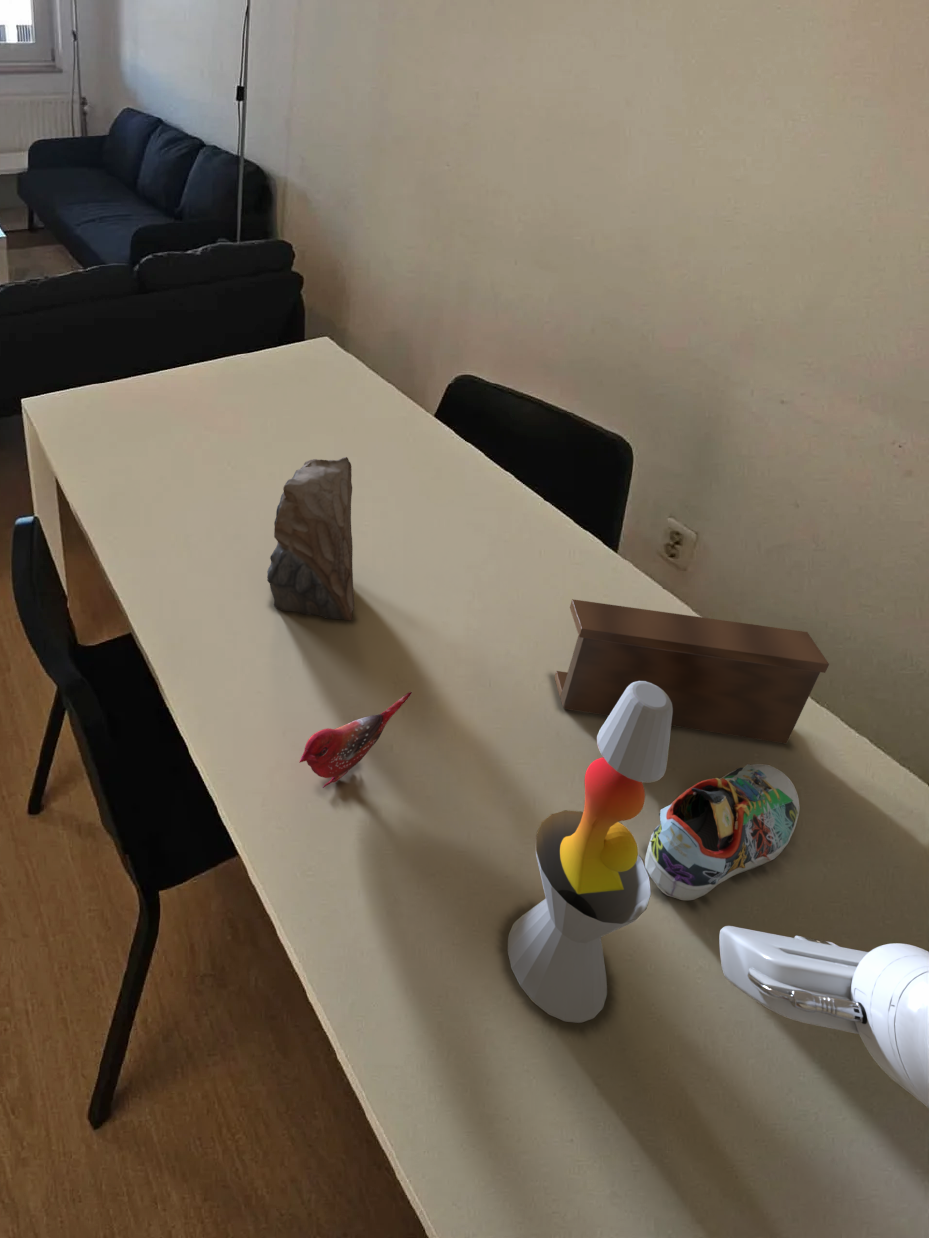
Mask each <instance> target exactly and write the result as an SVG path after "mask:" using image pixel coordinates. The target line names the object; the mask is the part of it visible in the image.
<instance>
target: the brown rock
mask: <svg viewBox="0 0 929 1238" xmlns="http://www.w3.org/2000/svg"><path fill="white" fill-rule="evenodd" d="M282 487H283V488H282V489H283V492H282V494H281V496H280V498H279V503H278V505H277V507H276V511H275V512H276V513H275V519H274V524H273V525H274V529H273V530H274V531H273V537H274V539H275V540H276V542H277V544H276V546H275V549H274V550H273V552H272V554H271V555H270V557H269V559H270V564H269V567H268V569H267V576H266V577H267V582H268V583H269V587H270V592H271V594H272V597H273V607H275V608H276V609H278V610H280V611H284V612H296V613H297V612H298V613H299V614H301V615H312V616H320V617H323V618H325V619H329V620H344V621H353V615H352V613H353V610H354V609H355V593H354V573H353V535H352V533H353V532H352V495H353V483H352V463H351V461H350V460H349V457H347V456H344V457H341V458H339V459H336V460H334V459H317V458H313V459H309V460H306V461H305V462H304V463H303V465H302V467H300V468H298V469H296V470H295V472H294V474H293V476H292V477H291V478H288V479H287V480H286V481H285V484H284V486H282Z"/></svg>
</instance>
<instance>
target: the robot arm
mask: <svg viewBox="0 0 929 1238" xmlns="http://www.w3.org/2000/svg"><path fill="white" fill-rule="evenodd" d="M718 941H719V944H718V945H719V956H720V963H721V969H722V974H723V976H724V977H725V979H726V980H727V981H728V982H729V983H730V984H732V985H733V986H734V987H735V988H737V989H738V990H740V991H741V992H742V993H744V994H745V995H746V996H748V997H749V998H751V999H753V1000H754V1001H755V1002H757V1003H758V1004H759V1005H761V1006H763V1007H764V1008H766V1009H768V1010H770V1011H772V1012H773V1013H775V1014H777V1015H780V1016H781V1017H784V1018H786V1019H790V1020H793V1021H795V1022H800V1023H804V1024H807V1025H812V1026H817V1027H822V1028H827V1029H832V1030H835V1031H836V1030H837V1031H842V1032H845V1033H852V1034H857V1035H859V1037H860V1039H861V1041H862V1043H863V1044H864V1047H865V1049H866V1050H867V1052H868V1053H869V1055H870V1057H871V1058H872V1059H873V1061H874V1062H875V1063H876V1064H877V1066H878V1067H879V1069H881V1070H882V1071H883V1072H884V1074H886V1075H887V1076H888V1077H889V1078H890V1079H891V1080H893V1082H895V1083H896V1084H897V1085H899V1086H900V1087H901V1088H903V1089H904V1091H906V1092H908V1093H909V1094H910V1095H911V1096H912V1097H914V1098H915V1099H916V1100H917V1101H918V1102H920V1103H921V1104H923V1105H924V1106H925V1107H926V1108H928V1109H929V951H928V950H926V949H924V948H922V947H918V946H916V945H912V944H909V943H908V944H907V943H901V942H900V943H899V942H898V943H897V942H895V943H887V944H883V945H879V946H876V947H874V948H872V949H871V950H870V951H864V950H859V949H853V948H849V947H844V946H839V945H838V944H835V943H834V942H832V941H828V940H827V941H826V940H821V939H816V938H810V937H806V936H800V935H795V936H794V937H790V936H785V935H781V934H775V933H769V932H764V931H759V930H753V929H748V928H743V927H738V926H733V925H725V926H723V927H722V928H720V930H719V939H718Z"/></svg>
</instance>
